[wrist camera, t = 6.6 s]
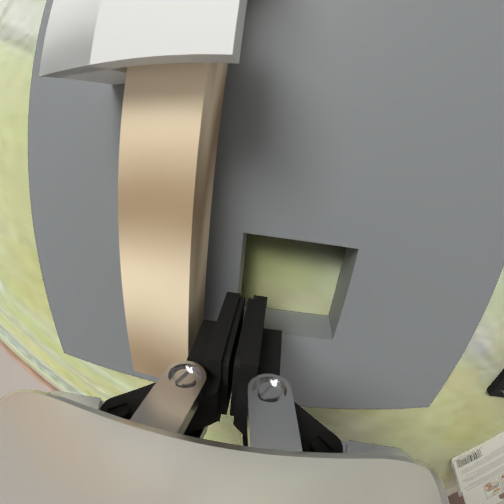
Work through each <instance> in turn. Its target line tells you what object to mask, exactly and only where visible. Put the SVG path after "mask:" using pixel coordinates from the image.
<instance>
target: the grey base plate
mask: <svg viewBox="0 0 504 504" xmlns="http://www.w3.org/2000/svg"><path fill="white" fill-rule="evenodd" d="M169 63H228V68H227V75H226V82H225V89H224V97H223V104H222V112H221V120H220V128H219V137H218V146H217V155H216V164H215V173H214V183H213V194H212V204H211V216H210V228H209V240H208V253H207V267H206V282H205V299H204V317H203V320H204V319H205V320H211V321H217V319H218V316H219V313H220V310H221V308H222V305H223V302H224V299H225V296H226V293H227V292H234V293H240V294H241V293H242V283H243V273H244V263H245V254H246V244H247V234H248V233H249V234H256V235H264V236H271V237H278V238H285V239H293V240H300V241H307V242H314V243H321V244H328V245H335V246H342V247H346V249H345V254H344V258H343V262H342V266H341V270H340V274H339V278H338V282H337V286H336V290H335V294H334V298H333V301H332V305H331V309H330V312H329V316H327V315H318V314H309V313H301V312H293V311H285V310H277V309H270V308H266V312H265V320H264V327H263V328H267V329H275V330H282V343H281V362H280V376H281V377H282V378H284V379H285V380H287V382H288V383H289V384H290V386H291V389H292V394H293V399H294V402H295V403H297V404H298V405H299V406H302V407H315V408H334V409H404V408H421V407H429V406H430V405H431V403H432V402H433V400H434V399H435V397H436V396H437V395H438V393H439V392H440V390H441V389H442V387H443V386H444V384H445V382H446V381H447V379H448V378H449V376H450V375H451V373H452V371H453V370H454V368H455V366H456V365H457V363H458V361H459V360H460V358H461V356H462V354H463V353H464V351H465V349H466V347H467V345H468V344H469V342H470V340H471V338H472V336H473V334H474V332H475V330H476V328H477V326H478V324H479V322H480V320H481V318H482V316H483V314H484V312H485V310H486V307H487V305H488V303H489V301H490V298H491V296H492V294H493V291H494V289H495V287H496V284H497V282H498V279H499V276H500V274H501V271H502V269H503V266H504V0H47V1H46V5H45V9H44V13H43V17H42V21H41V25H40V30H39V35H38V40H37V45H36V51H35V57H34V63H33V71H32V79H31V88H30V100H29V115H28V172H29V188H30V200H31V210H32V218H33V226H34V233H35V240H36V246H37V252H38V257H39V262H40V267H41V272H42V277H43V281H44V286H45V290H46V294H47V298H48V302H49V306H50V309H51V313H52V316H53V320H54V323H55V327H56V330H57V333H58V336H59V339H60V342H61V345H62V348H63V351H64V353H66V354H68V355H71V356H74V357H76V358H79V359H82V360H85V361H88V362H90V363H93V364H96V365H99V366H102V367H105V368H109V369H112V370H115V371H118V372H121V373H125V374H128V375H132V376H135V377H139V378H142V379H146V380H150V381H154V382H157V381H158V379H159V378H158V377H155V376H151V375H148V374H144V373H140V372H137V371H134V369H133V363H132V358H131V352H130V345H129V339H128V332H127V325H126V317H125V308H124V299H123V289H122V278H121V265H120V249H119V226H118V168H119V145H120V129H121V117H122V106H123V97H124V88H125V80H126V73H127V67H130V66H140V65H152V64H169ZM246 307H247V305H245V307H244V316H245V312H246ZM243 321H244V318H243ZM231 395H232V392H231ZM230 398H231V396H230Z"/></svg>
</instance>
